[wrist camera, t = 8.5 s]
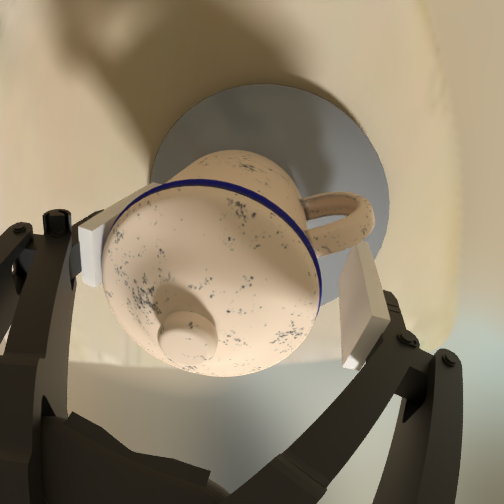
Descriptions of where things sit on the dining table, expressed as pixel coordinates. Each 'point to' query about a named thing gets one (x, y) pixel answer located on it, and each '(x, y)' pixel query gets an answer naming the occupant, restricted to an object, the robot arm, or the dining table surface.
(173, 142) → the pad
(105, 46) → the dining table surface
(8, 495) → the robot arm
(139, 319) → the teacup with lid
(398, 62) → the dining table surface
